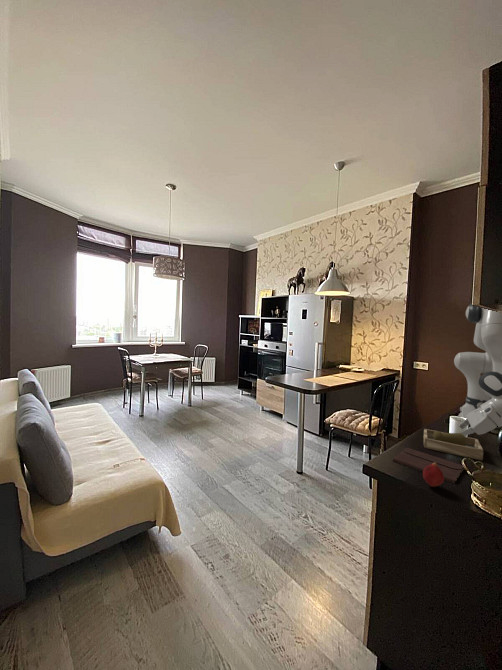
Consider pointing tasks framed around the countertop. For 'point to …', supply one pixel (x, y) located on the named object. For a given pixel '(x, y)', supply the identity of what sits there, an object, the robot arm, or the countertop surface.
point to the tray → (454, 446)
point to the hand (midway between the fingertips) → (461, 430)
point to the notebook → (429, 463)
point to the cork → (450, 438)
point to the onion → (433, 475)
